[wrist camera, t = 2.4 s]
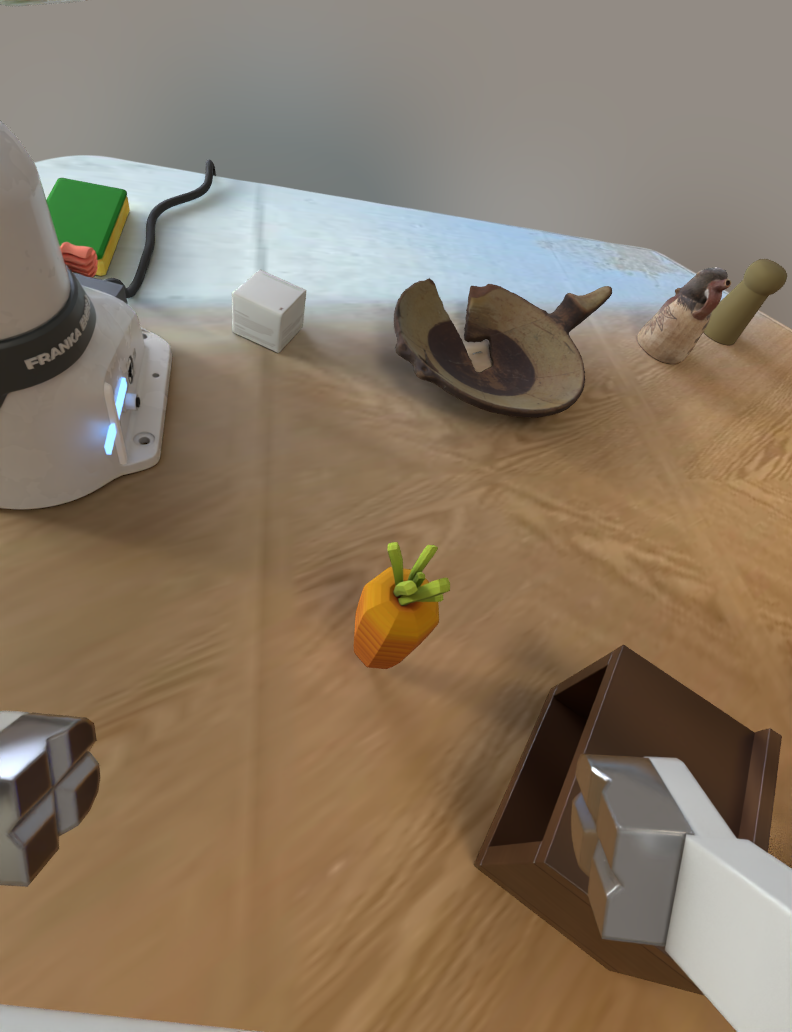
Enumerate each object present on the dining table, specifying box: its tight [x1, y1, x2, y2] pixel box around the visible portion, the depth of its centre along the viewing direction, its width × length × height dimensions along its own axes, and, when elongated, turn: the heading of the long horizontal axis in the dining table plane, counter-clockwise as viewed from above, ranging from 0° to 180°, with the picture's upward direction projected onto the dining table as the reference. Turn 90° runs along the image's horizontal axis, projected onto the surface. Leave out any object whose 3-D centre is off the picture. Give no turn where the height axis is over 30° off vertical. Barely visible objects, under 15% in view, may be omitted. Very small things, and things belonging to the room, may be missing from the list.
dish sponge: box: [46, 178, 130, 276], centre depth 58 cm, size 7×14×2 cm, turn 5°
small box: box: [232, 269, 306, 353], centre depth 56 cm, size 6×6×5 cm
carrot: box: [354, 542, 450, 669], centre depth 34 cm, size 5×5×15 cm
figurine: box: [637, 267, 731, 364], centre depth 70 cm, size 7×7×12 cm
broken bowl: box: [394, 278, 612, 418], centre depth 60 cm, size 22×30×8 cm
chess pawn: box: [703, 259, 787, 345], centre depth 77 cm, size 6×6×11 cm
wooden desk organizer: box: [474, 645, 782, 995], centre depth 33 cm, size 14×10×11 cm
